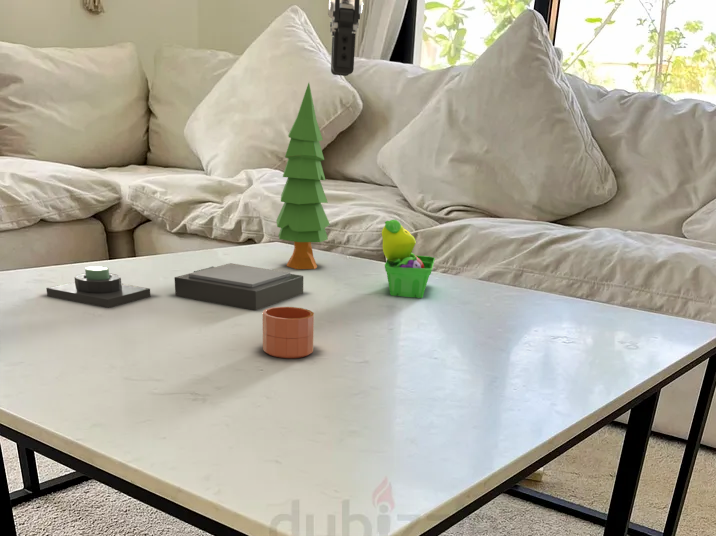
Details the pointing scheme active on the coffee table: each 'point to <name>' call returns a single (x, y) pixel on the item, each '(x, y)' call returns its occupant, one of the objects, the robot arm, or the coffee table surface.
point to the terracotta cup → (288, 332)
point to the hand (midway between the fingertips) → (341, 74)
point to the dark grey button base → (98, 291)
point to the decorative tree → (303, 188)
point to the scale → (239, 286)
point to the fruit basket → (404, 262)
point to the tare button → (97, 273)
